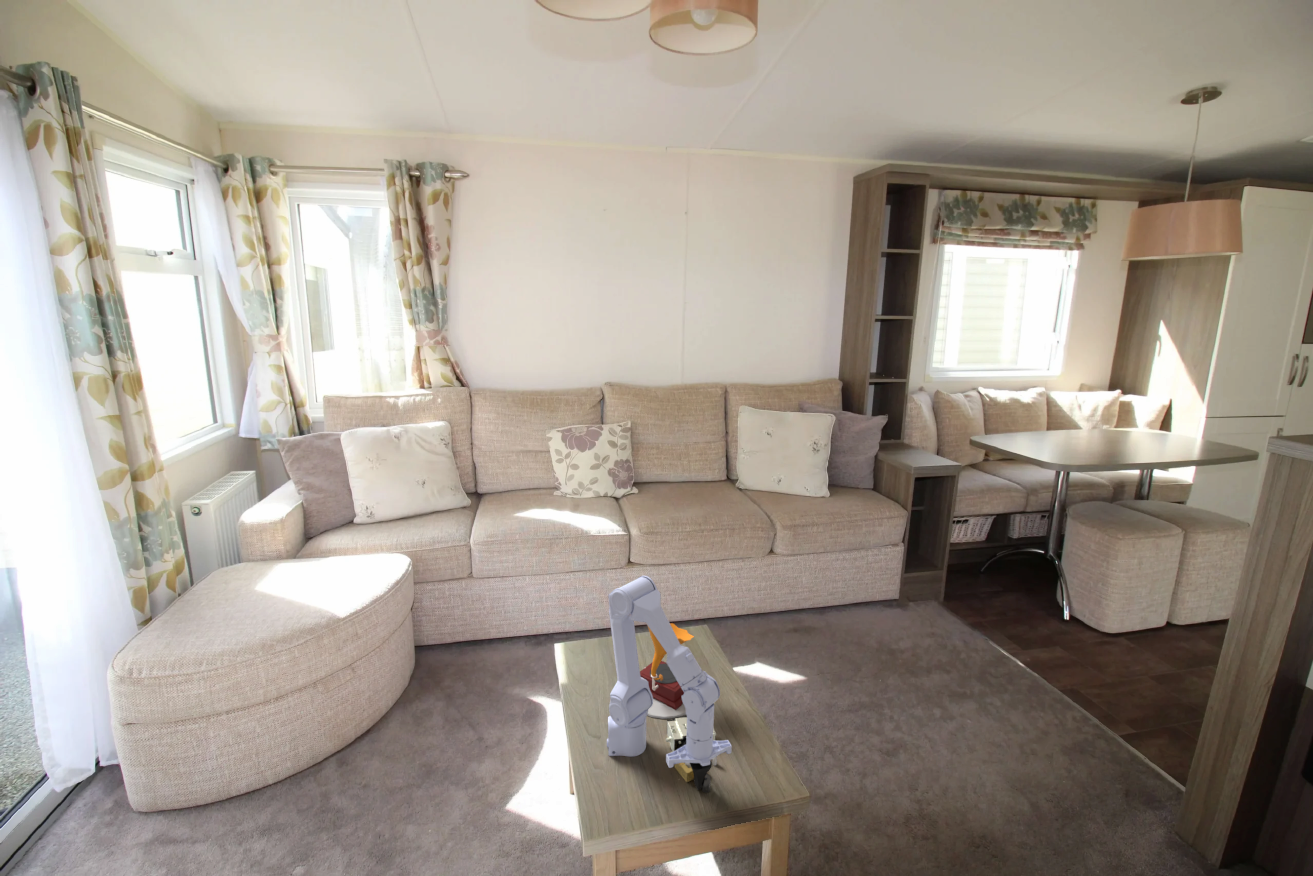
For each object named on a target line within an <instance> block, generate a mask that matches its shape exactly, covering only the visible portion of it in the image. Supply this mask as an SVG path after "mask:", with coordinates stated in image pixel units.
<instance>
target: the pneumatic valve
mask: <svg viewBox="0 0 1313 876" xmlns="http://www.w3.org/2000/svg"><path fill="white" fill-rule="evenodd" d="M666 736H667V737H665V742H666V743H669V745H670V748H671V752H673V751H675V750H677V749H679V748H680V747H682V746H684V745H686V736H687V715H684V716H680V717H675V718H670V719H667V720H666ZM716 736H717V733H716V730H715V728H714V727H713V740H714V741H716Z"/></svg>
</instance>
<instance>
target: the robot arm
mask: <svg viewBox="0 0 1313 876" xmlns="http://www.w3.org/2000/svg"><path fill="white" fill-rule="evenodd" d="M607 596H608V605H609V607H608V615H609V623H610V631H611V638H612V639H611V640H612V646H613V653H614V654H613V655H614V661H615V662H614V663H615V664H614V665H615V669H616V670H615V672H616V678H617V681H616V683H615V685H613V688H612V689H611V692H610V693H609V698H610V701H609V704H608V705H609V706H608V712H609V716H608V717H607V730H608V732H607V735H608V736H607V738H606V747H607V748H608V757H614V756H615V757H616V756H625V757H631V758H633V757H637V756H639V755H641V754H643V753H644V752H645V750H646V748H647V714H648V709H649V708H650V707H652V705H653V696H652V693H651V691H650V689H649V684H648V681H647V680H646V679H644V678H642V677H640V671H641V670H640V663H639V653H638V646H637V645H638V644H637V638H636V630H635V622H638V623H639V622H640V623H644V624H646V626H647V625H648V626H647V628H648V627H649V628H650V629H651V631H652V632H653V634H654V635H655V637H656V638H657V639H658V641H659V642H660V644H661V645H662V647H663V648H664V650H665V651H666V652H667V654H666V663H667V665H668V666H669V668H670V670H671V671H672V673H673V675H674V676H675V678H676V680H677V682H678V683H679V685H680V686H681V688H682V690H683V692H684V694H683V695H682V702H683V704H684V706H685V708H686V715H685V716H687V736H686V745H684V746H682V747H680V748H679V749H677V750H675V751H673V752H672V751H671V752H669V753H666V754H665V762H666V764H667V766H668V768H669V769H672V768H673V767H674V764H678V763H690V765H691V768H692V770H693V774H694V779H693V784H694V786H695V788H696V789H697V790H701V789H702V782H703V780H704V777H705V775H706V774H708V772H709V771H710V770H711V769H712V766H713V765H712V760H713V758H714V757H716V756H717V757H718V756H719V755H721V754H724V753H725V754H726V755H729V754H732V750H733V747H732V744H731V742H730V741H729V739H725V740H715V741H714V740H713V728H714V725H715V724H714V720H715V702H717V701H718V699H719V698H720V696H721V690H720V687H719V684H718V682H717V680H716V679H715V678H714V677H712V676H711V675H709V674H708V673H707V672H706V671H705V670H703V669H702V668H701V666H700V665H699V663H698V661H697V659H696V658H695V655H694V654H693V653H692V651H691V649H690V647H688V646H685V645H683V644H680V643H679V641H678V639H677V637H676V635H675V633H674V631H673V629H672V627H671V625H670V621H669V619H668V617H667V615H666V613H665V611H664V608H663V607H662V605H661V603H662V602H661V600H662V597H661V592H660V591H659V589H658V588H657V584H656V583H655V581H654V580H653V579H652V578H651V577H649V576H648V575H641V576H639V577H637V578H636V579H634V580H632V581H630V582H628V583H626V584H624V585H622V586H621V587H617V588H615V589H613V590H612V591H611V592H610V593H609V594H608V595H607Z"/></svg>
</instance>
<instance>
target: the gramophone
mask: <svg viewBox="0 0 1313 876" xmlns="http://www.w3.org/2000/svg"><path fill="white" fill-rule="evenodd" d="M669 623H670V622H669ZM670 625H671V627H672V629H673V631H674V633H675V635H676V637H677V639H678V641H679V643H680V644H681V645H683V644H684V643H686V642H687V641H692V639H693V638H694V637H695V636H694V635H692V634H690V633H689V632H688V630H687V629H683V628H681V627H678V626H677V625H676V624H675V623H673V622H672V623H670ZM646 626H647V629H648V632H649V634H650V638H651V641H652V643H653V647H654V653H653V654H654V655H653V658H652V662H650V663H649V664H648V665H647V666H645V667H644V668H643V669H641V670H640V677H642V678H644V679H646V680H647V681H648V684H649V689H650V691H651V693H652V696H653V705H652V707H650V708H649V709H648V714H647V716H648V717H650V718H653V719H654V718H655V719H660V720H661V719H662V720H665V719H667V720H670V719H673V718H675V717H680V716H687V715H686V708H685V706H684V704H683V702H682V695H683V694H684V692H683V690H682V688H681V686H680V685H679V683H678V682H677V680H676V678H675V676H674V675H673V673H672V671H671V670H670V668H669V666H668V665H667V663H666V662H665V661H663V658H664V657H665V656H667V652H666V651H665V650H664V648H663V647H662V645H661V644H660V642H659V641H658V639H657V638H656V637H655V635H654V634H653V632H652V631H651V629H650V628H649V627H648V625H647V624H646ZM647 716H646V717H647Z"/></svg>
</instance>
